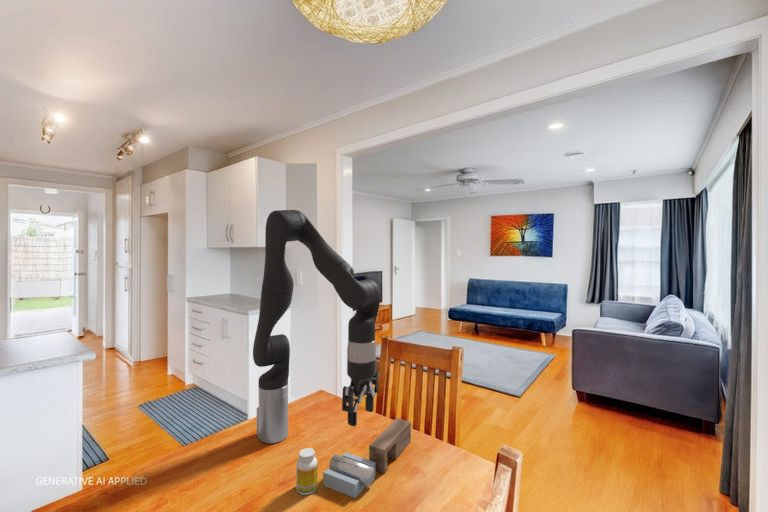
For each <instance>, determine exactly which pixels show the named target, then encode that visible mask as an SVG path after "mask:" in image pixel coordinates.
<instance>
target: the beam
mask: <svg viewBox="0 0 768 512" xmlns="http://www.w3.org/2000/svg"><path fill="white" fill-rule="evenodd" d="M411 435H412V421H410V420H405V419H403V418H398V417H396V418H395V419H394V420H393V421H392V422H391V423H390V424H389V425H388V426H387V427H386V428H385V429H384V430H383V431H382V432H381V433H380V434H379V435H378V436H376V438H375V439H374V440H372V442H371V443H370V444H369V445H368V460H370V461H373V462H376V472H379V473H381V474H386V473H387V472H388V459H391V460H395V461H396V460H397V459H399V457H400V456H401V454H402V453H403V452H404V451H405V450H406V448H407V447H408V446H409V445H410V443H411V442H412V440H411V439H412V436H411Z"/></svg>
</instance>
